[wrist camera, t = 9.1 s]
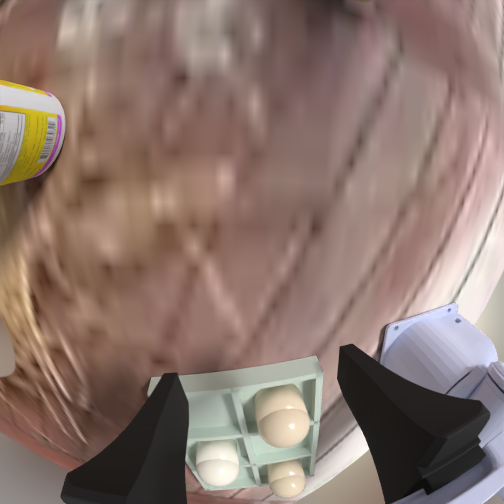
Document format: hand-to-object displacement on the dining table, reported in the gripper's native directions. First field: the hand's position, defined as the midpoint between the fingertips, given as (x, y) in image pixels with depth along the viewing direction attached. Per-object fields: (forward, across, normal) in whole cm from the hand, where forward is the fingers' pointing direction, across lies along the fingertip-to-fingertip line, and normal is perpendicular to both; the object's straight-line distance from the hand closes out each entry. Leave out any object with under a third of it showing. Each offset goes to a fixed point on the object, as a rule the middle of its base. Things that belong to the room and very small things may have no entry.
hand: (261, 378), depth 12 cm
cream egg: (+9, +6, +18) cm, 21 cm away
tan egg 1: (+9, -2, +12) cm, 14 cm away
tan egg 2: (+9, -2, +26) cm, 27 cm away
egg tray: (+9, +2, +18) cm, 21 cm away
